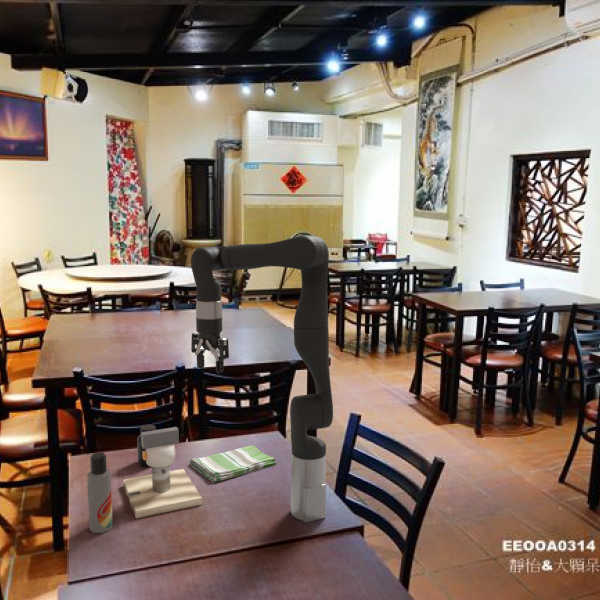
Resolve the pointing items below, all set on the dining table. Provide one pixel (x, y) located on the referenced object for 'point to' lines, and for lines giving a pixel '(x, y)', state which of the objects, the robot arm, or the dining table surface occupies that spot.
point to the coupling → (160, 446)
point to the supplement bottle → (139, 444)
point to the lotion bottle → (99, 494)
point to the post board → (161, 492)
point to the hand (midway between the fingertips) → (210, 370)
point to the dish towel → (232, 463)
